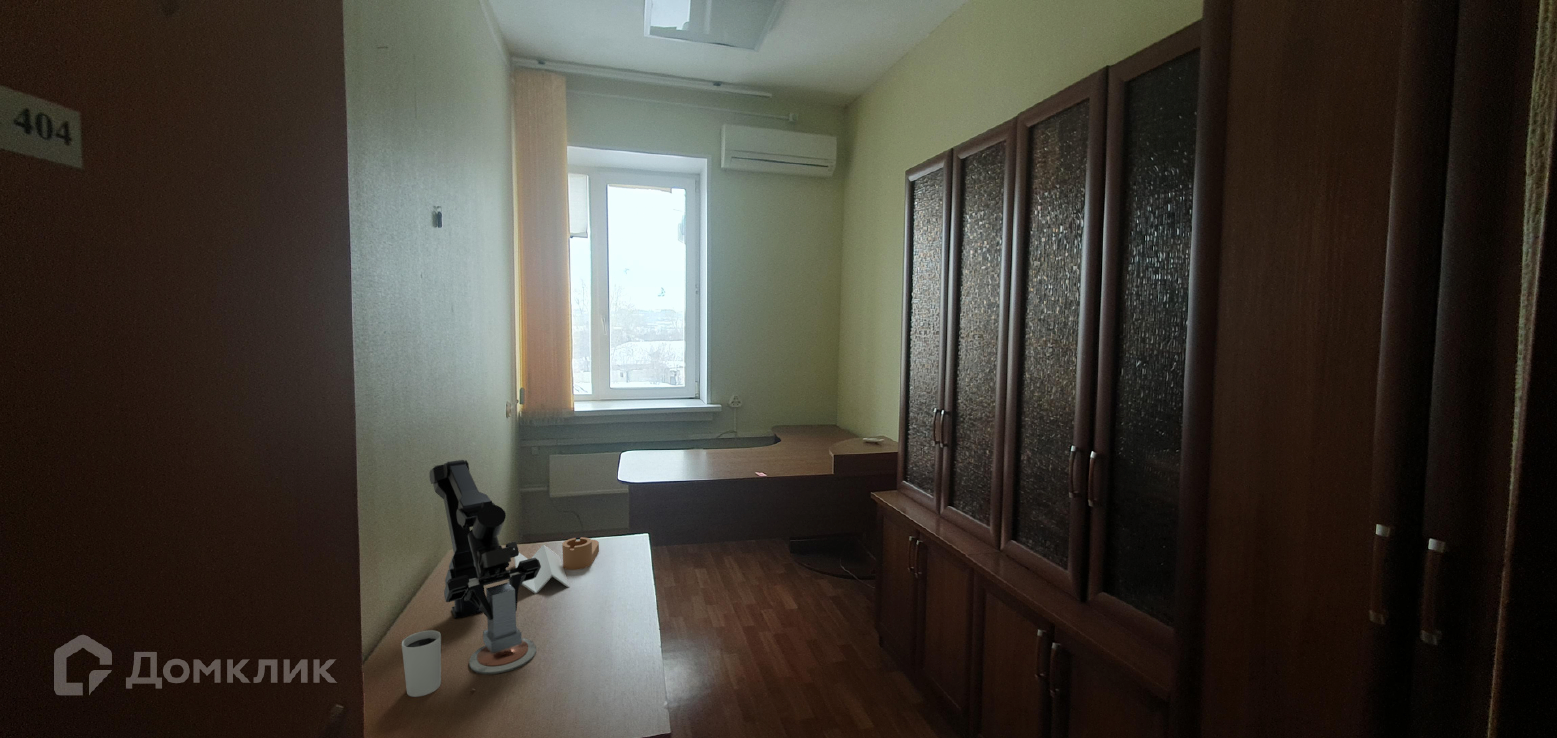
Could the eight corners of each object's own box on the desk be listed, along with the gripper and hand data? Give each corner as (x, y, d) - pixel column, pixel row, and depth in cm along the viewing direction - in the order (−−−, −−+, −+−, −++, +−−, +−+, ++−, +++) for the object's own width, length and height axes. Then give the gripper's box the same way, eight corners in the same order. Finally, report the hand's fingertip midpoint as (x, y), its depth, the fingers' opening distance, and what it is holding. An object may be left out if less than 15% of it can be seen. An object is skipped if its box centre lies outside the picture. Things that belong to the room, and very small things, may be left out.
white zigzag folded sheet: (544, 572, 185) (559, 555, 187) (553, 606, 163) (569, 587, 164) (513, 549, 181) (528, 533, 182) (517, 581, 158) (535, 562, 160)
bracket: (589, 569, 176) (588, 546, 176) (559, 571, 175) (559, 547, 175) (601, 547, 194) (600, 526, 194) (574, 548, 193) (574, 527, 193)
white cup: (415, 678, 122) (412, 630, 121) (449, 677, 122) (447, 629, 122) (396, 698, 115) (394, 648, 114) (433, 697, 116) (430, 647, 115)
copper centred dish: (465, 652, 131) (465, 647, 131) (528, 635, 139) (528, 629, 138) (474, 681, 121) (473, 675, 120) (542, 661, 128) (541, 655, 128)
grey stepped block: (483, 642, 130) (481, 588, 129) (512, 632, 134) (510, 580, 133) (491, 653, 125) (489, 597, 124) (521, 643, 129) (519, 589, 128)
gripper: (444, 542, 125) (460, 613, 117) (536, 522, 137) (556, 585, 129) (437, 567, 131) (452, 636, 124) (525, 546, 143) (544, 608, 136)
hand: (503, 615), depth 128 cm, fingers closed on grey stepped block, 4 cm apart
